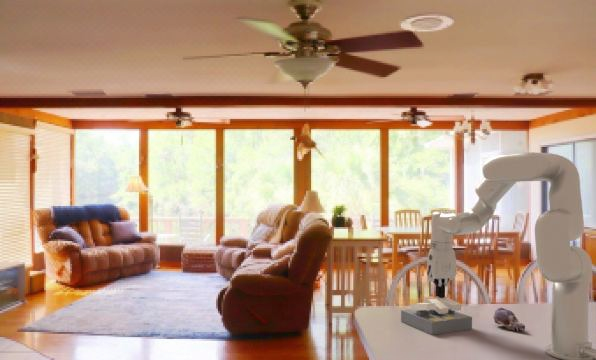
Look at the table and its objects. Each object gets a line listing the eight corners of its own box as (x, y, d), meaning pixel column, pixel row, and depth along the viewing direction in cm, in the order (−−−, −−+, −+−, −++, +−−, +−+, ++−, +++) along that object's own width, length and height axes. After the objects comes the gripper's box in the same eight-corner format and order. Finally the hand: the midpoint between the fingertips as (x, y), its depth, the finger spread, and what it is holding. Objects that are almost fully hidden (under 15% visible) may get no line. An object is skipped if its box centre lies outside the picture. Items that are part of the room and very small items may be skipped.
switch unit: (472, 328, 177) (472, 312, 177) (431, 334, 170) (432, 318, 170) (439, 316, 193) (439, 301, 193) (401, 321, 186) (401, 306, 186)
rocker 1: (436, 308, 176) (435, 302, 176) (427, 310, 174) (426, 303, 174) (419, 308, 184) (418, 302, 184) (411, 309, 182) (410, 303, 182)
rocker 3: (460, 309, 180) (461, 303, 180) (452, 310, 179) (453, 304, 179) (443, 301, 188) (444, 296, 188) (435, 302, 187) (436, 296, 187)
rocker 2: (447, 312, 178) (448, 307, 178) (439, 314, 177) (440, 308, 176) (431, 301, 186) (432, 296, 186) (423, 302, 185) (424, 296, 184)
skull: (530, 333, 173) (530, 314, 173) (510, 334, 171) (510, 315, 171) (508, 323, 185) (508, 305, 185) (489, 324, 183) (489, 307, 183)
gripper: (431, 248, 180) (430, 301, 181) (465, 246, 187) (463, 297, 187) (418, 245, 187) (416, 295, 188) (451, 243, 193) (449, 292, 194)
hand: (440, 296), depth 187 cm, fingers closed
